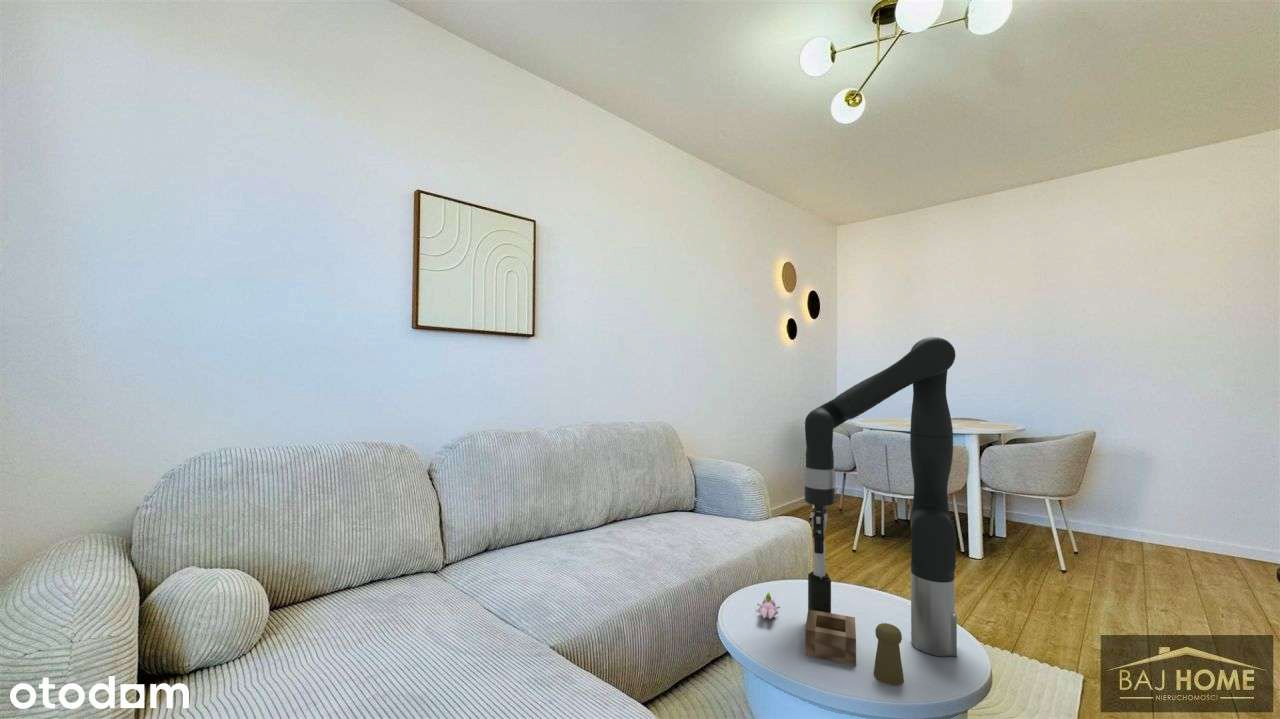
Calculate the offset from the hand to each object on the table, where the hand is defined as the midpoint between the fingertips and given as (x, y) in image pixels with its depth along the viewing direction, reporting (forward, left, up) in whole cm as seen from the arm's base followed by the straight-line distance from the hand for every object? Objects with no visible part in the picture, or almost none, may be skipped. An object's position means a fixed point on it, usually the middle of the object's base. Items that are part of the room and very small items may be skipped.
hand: (819, 549), depth 134 cm
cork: (-15, +18, -20) cm, 31 cm away
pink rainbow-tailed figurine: (+13, -1, -20) cm, 24 cm away
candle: (0, 0, -20) cm, 20 cm away
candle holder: (-3, +11, -20) cm, 23 cm away
